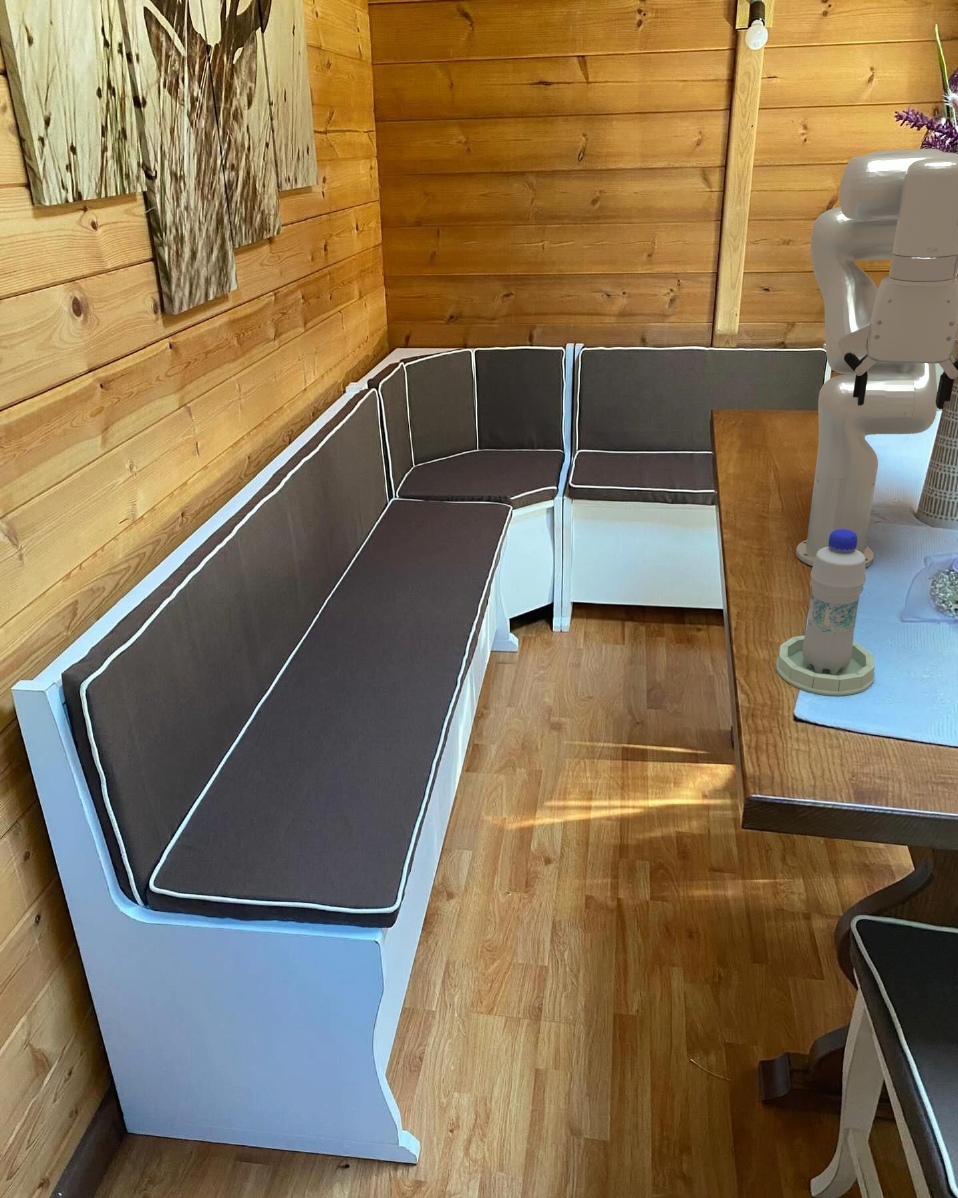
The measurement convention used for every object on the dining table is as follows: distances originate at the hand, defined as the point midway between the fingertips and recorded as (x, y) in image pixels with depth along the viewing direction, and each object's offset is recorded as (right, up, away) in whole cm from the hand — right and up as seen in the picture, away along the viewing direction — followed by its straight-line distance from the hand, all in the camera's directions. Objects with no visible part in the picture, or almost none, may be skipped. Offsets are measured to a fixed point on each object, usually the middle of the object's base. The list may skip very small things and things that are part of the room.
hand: (899, 404), depth 119 cm
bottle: (-8, -35, +4) cm, 37 cm away
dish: (-9, -36, +4) cm, 37 cm away
